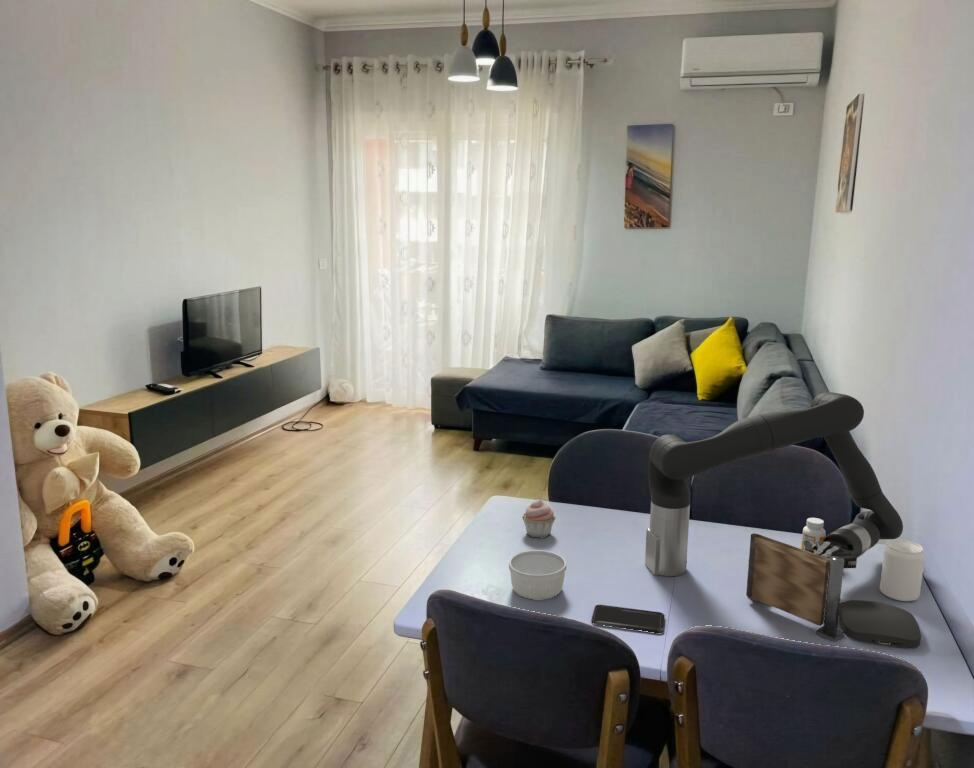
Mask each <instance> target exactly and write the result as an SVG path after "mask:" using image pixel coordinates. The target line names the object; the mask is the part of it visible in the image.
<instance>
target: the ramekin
mask: <svg viewBox="0 0 974 768" xmlns="http://www.w3.org/2000/svg"><path fill="white" fill-rule="evenodd" d="M508 569H509V572H510V581H511V587H512V589H513V590H514V592H515V593H516V594H517V595H518V596H520V597H521V596H522V598H523V597H524V599H526V598H528V599H527V600H530V599H533V600H532V601H544V600H543V599H546V600H550V599H553V598H554V596H555V597H556V596H558V595H559V594H560V593H561V591H562V589H563V586H564V581H565V574H566V570H567V562H566V560H565V558H564V557H562V555H560V554H557V553H555V552H552V551H549V550H548V551H547V550H542V549H539V550H538V549H534V550H533V549H531V550H525V551H521V552H518V553H516V554H513V555H512V556H511V557H510V559H509V561H508ZM557 594H558V595H557ZM552 597H553V598H552ZM549 598H550V599H549Z"/></svg>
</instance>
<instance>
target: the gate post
mask: <svg viewBox="0 0 974 768" xmlns="http://www.w3.org/2000/svg"><path fill="white" fill-rule="evenodd" d="M844 569H845V568H844V559H843V558H842V557H838V556H832V557H830V566H829V575H828V584H827V594H826V604H825V614H824V623H823V624H822V625H821V626H819V627H818V629H816V630H815V633H814V634H815V635H816V636H818V637H821V638H823V639H826V640H828V641H830V642H832V643H835V642H837V641H838V640H840V639H841V638H842V637H844V635H845V634H844V632H843V630H840V629H838V623H839V622H838V621H839V616H838V615H839V606H840V603H841V595H842V587H843V586H842V585H843V577H844V576H843V575H844ZM747 598H749V599H751V600H753V601H756V602H758V603H760V602H761V601H758V600H756V599H754V598H750V597H747Z"/></svg>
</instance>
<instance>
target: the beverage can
mask: <svg viewBox="0 0 974 768" xmlns="http://www.w3.org/2000/svg"><path fill="white" fill-rule="evenodd" d="M883 549H884V550H883V558H882V564H881V565H882V567H881V575H880V583H879V591H880V592H881V593H882V594H883V595H885V596H887V597H888V598H890V599H892V600H895V601H901V602H913V601H916V600H918V599H919V598H920V596H921V588H922V578H923V573H924V572H923V571H924V563H925V557H926V555H925V552H924V547H922V546H921V544H918V543H916V542H913V541H911V540H905V539H889V540H888V541H887V544H886V545H885V546H884V548H883Z"/></svg>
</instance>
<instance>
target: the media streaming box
mask: <svg viewBox="0 0 974 768" xmlns="http://www.w3.org/2000/svg"><path fill="white" fill-rule="evenodd" d="M838 621H839V623H840V626H841V631H843V632H844V635H845V636H847V638H849V639H851V640H854V641H856V642H861V643H866V644H871V645H876V646H884V647H892V648H899V649H908V650H909V649H916V648H918V647H919V646H920V645H921V638H922V632H921V628H920V626H919V623H918V621H917V619H916V617H915V616H914V615H913V614H912V613H911V612H909V611H908V610H906V609H904V608H901V607H900V606H899V607H898V606H897V605H893V604H889V603H884V602H880V601H872V600H863V599H862V600H861V599H860V600H859V599H854V600H853V599H849V600H844V601H840V606H839V615H838Z"/></svg>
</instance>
